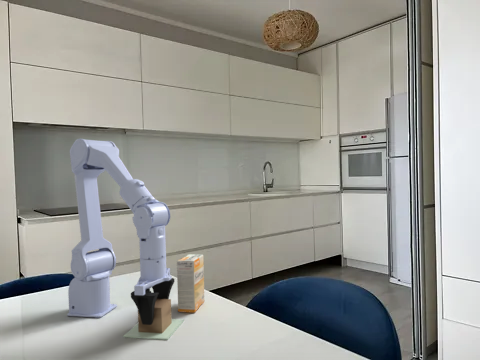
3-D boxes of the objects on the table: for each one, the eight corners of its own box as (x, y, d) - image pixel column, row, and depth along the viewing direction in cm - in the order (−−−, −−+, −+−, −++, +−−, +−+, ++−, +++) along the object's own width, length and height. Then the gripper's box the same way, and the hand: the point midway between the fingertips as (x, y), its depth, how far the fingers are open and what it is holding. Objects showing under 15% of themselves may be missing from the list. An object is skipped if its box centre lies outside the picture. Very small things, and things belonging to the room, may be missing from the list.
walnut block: (138, 332, 78) (137, 306, 78) (149, 321, 83) (148, 298, 83) (162, 333, 77) (161, 307, 77) (171, 323, 82) (170, 299, 82)
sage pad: (123, 337, 76) (123, 335, 76) (144, 318, 86) (144, 317, 86) (167, 339, 74) (167, 338, 74) (183, 320, 84) (183, 319, 84)
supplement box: (195, 313, 89) (194, 260, 89) (177, 312, 90) (175, 260, 90) (205, 301, 97) (204, 253, 97) (188, 301, 98) (187, 253, 98)
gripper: (156, 265, 72) (158, 331, 72) (181, 250, 87) (182, 306, 87) (124, 264, 74) (126, 330, 74) (154, 250, 88) (155, 305, 88)
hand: (154, 317), depth 80 cm, fingers open, 7 cm apart
